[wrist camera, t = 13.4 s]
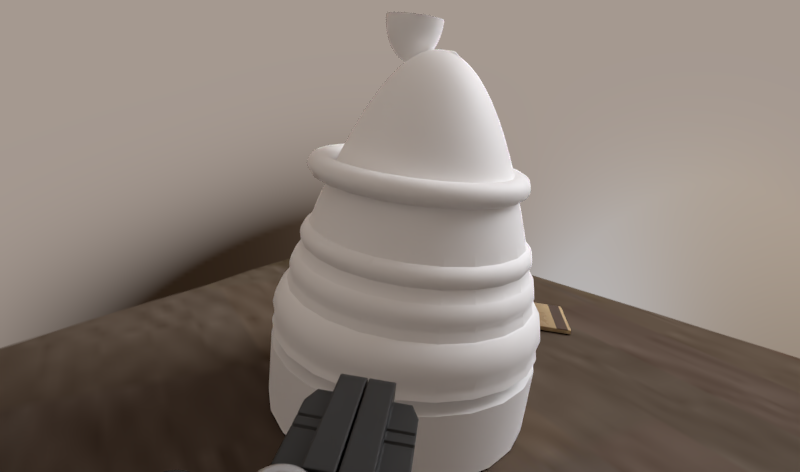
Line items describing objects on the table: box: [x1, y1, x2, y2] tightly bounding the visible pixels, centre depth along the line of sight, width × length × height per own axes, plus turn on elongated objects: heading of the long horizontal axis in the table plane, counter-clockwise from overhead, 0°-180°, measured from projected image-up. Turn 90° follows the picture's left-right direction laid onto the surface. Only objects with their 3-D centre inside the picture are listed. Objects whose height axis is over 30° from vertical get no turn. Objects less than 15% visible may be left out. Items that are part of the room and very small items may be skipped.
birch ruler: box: [534, 303, 571, 334], centre depth 38 cm, size 18×4×1 cm, turn 83°
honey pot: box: [269, 12, 540, 472], centre depth 24 cm, size 13×13×18 cm
